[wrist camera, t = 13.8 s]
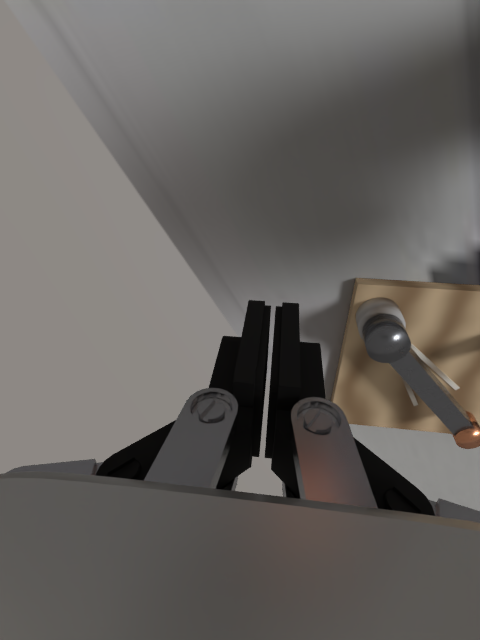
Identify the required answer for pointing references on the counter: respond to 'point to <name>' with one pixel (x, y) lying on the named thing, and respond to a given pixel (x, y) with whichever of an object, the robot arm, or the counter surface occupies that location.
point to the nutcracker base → (426, 340)
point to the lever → (418, 376)
